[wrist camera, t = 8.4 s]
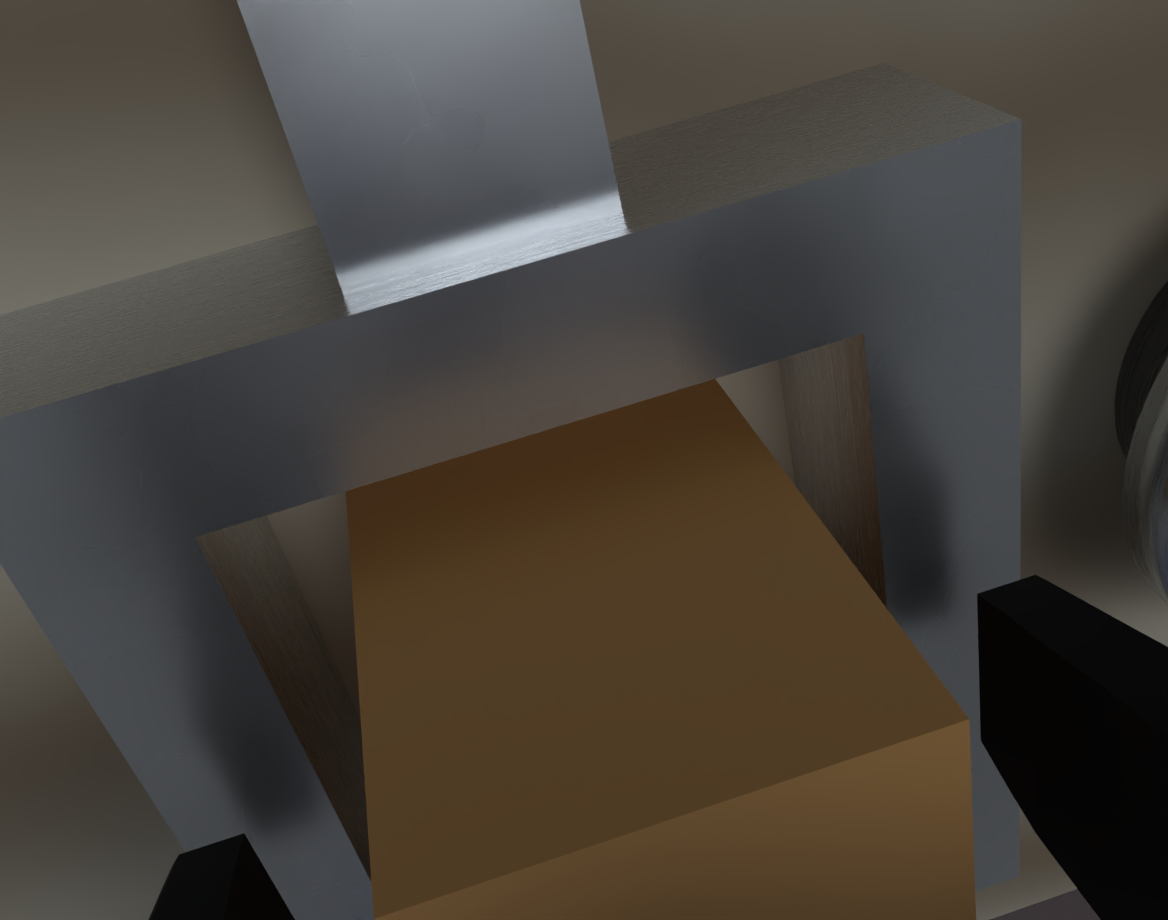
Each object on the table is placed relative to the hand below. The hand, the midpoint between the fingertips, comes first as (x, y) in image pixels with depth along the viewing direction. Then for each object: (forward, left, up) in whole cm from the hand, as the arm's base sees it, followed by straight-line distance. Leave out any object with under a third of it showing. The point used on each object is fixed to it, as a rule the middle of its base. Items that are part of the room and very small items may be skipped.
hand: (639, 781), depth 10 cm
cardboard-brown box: (0, 0, -3) cm, 3 cm away
